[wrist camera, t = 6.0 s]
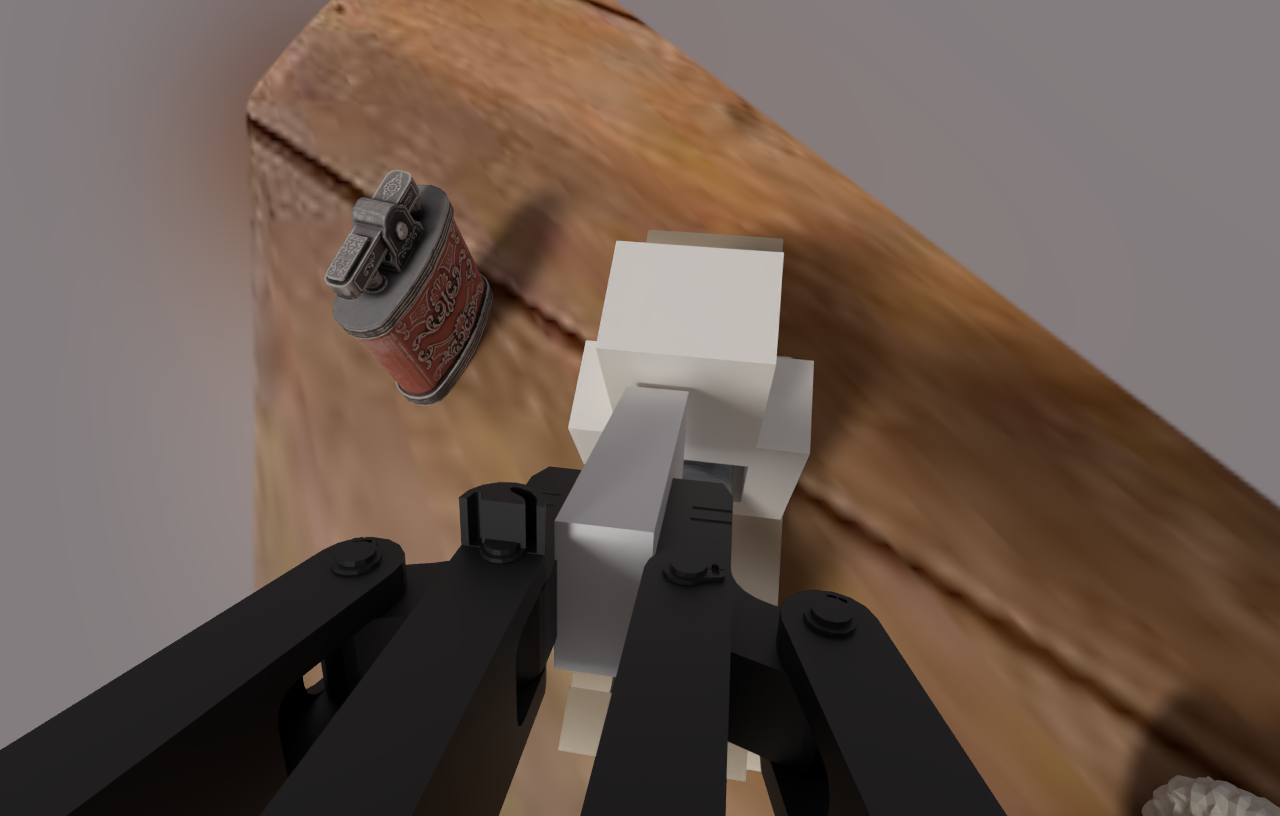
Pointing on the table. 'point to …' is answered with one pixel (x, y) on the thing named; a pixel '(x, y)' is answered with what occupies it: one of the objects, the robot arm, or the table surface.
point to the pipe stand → (749, 558)
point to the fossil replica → (1206, 799)
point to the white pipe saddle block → (704, 363)
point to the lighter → (410, 287)
